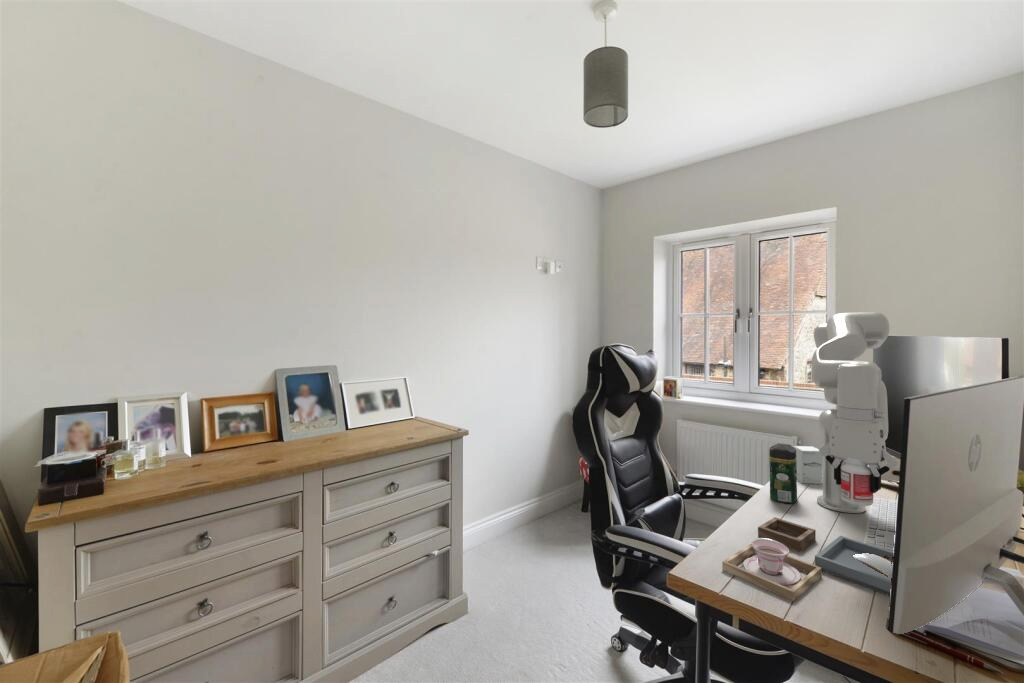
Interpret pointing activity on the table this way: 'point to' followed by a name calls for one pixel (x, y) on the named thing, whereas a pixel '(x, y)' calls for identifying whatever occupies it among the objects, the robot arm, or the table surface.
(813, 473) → the supplement box
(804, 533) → the walnut collar
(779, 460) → the coffee jar
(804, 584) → the light wooden frame
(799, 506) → the table surface
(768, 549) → the teacup
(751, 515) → the table surface
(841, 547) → the slate tray
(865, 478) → the pill bottle
